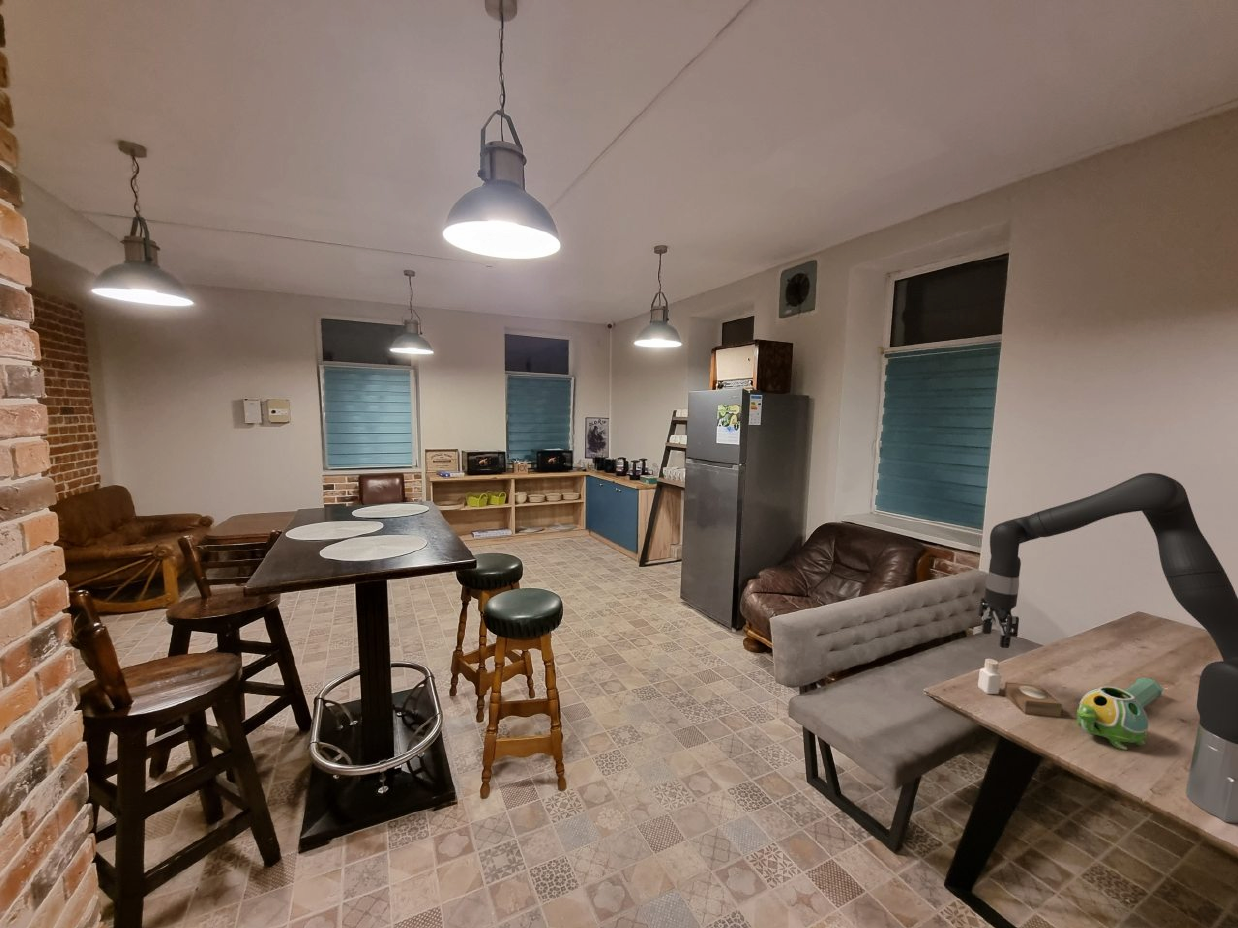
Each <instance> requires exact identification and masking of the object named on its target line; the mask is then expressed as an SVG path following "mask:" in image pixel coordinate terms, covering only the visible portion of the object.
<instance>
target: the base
mask: <svg viewBox="0 0 1238 928" xmlns="http://www.w3.org/2000/svg"><path fill="white" fill-rule="evenodd" d="M1003 692H1004V693H1003V696H1005V697H1006V698H1007V699H1008V700H1009V701H1010V702H1011V703H1012V704H1013V705H1015V707H1016V708H1017V709H1019V710H1020V711H1021V712H1022V713H1023V714H1024V713H1025V714H1024V715H1033V716H1043V717H1044V716H1045V717H1056V718H1060V717H1061V714H1062V713H1061V712H1062V706H1063V704H1062V702H1060V701H1059V700H1058V699H1056V697H1054V696H1053V695H1052V694H1051V693H1049V692H1048V691H1047V690H1046V689H1044V688H1043V687H1042V686H1041V685H1040V684H1032V683H1031V684H1029V683H1017V682H1008V681H1006V682H1005V683H1004V690H1003Z"/></svg>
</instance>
